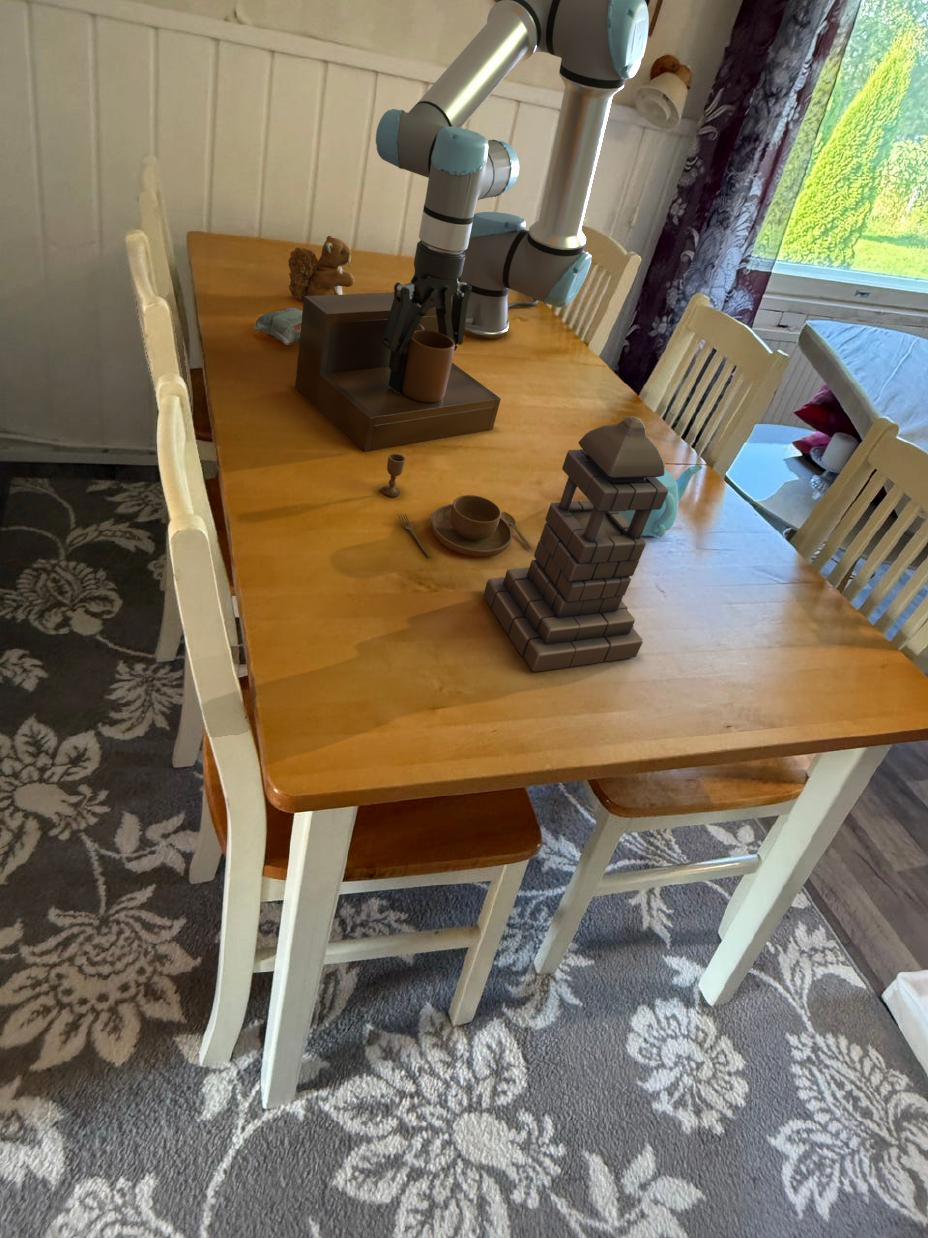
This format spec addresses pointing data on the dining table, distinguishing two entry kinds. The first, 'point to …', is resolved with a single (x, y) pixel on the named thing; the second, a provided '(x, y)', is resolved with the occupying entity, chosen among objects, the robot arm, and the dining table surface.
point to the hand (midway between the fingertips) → (415, 385)
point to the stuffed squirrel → (320, 270)
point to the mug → (427, 365)
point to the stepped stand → (377, 377)
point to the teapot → (665, 504)
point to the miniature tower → (585, 555)
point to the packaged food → (282, 325)
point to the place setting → (462, 521)
